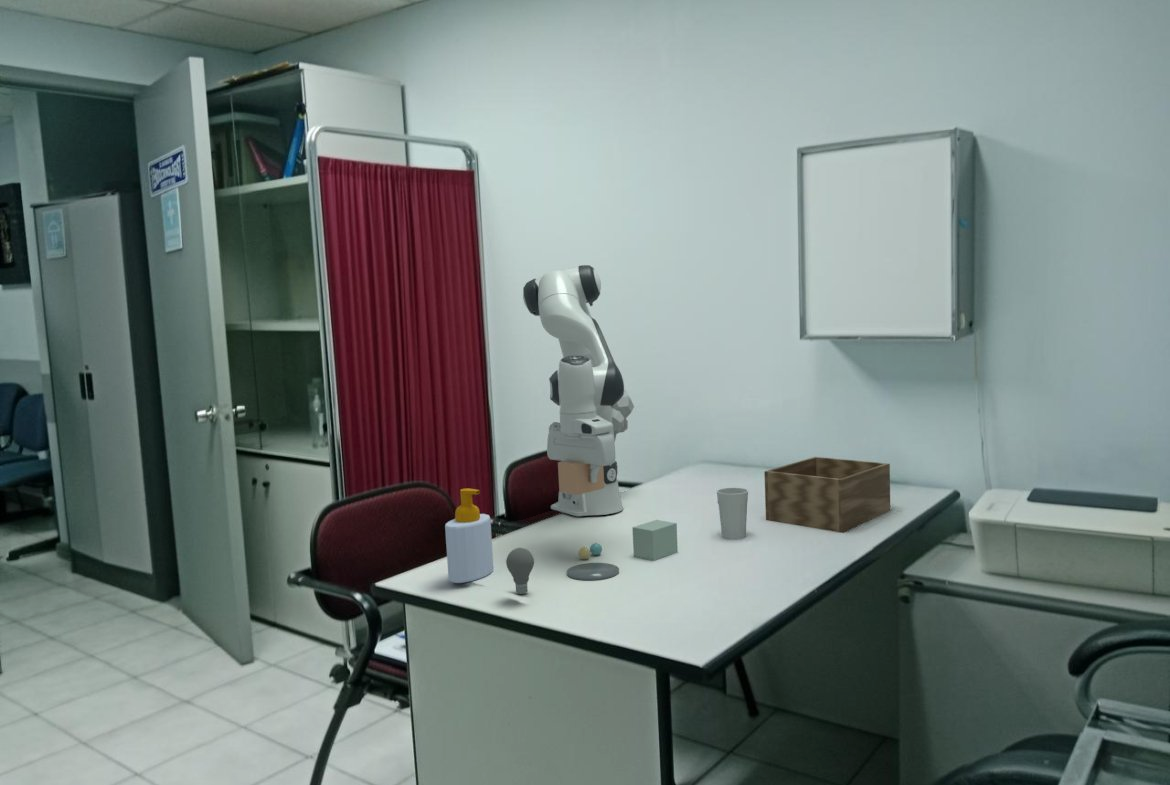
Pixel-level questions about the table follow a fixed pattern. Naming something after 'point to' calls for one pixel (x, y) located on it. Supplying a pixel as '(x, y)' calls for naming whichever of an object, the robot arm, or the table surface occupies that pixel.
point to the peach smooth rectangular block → (578, 478)
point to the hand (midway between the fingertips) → (581, 480)
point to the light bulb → (520, 568)
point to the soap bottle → (468, 542)
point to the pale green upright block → (655, 539)
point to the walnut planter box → (827, 493)
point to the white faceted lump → (621, 414)
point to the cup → (733, 512)
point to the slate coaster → (592, 571)
